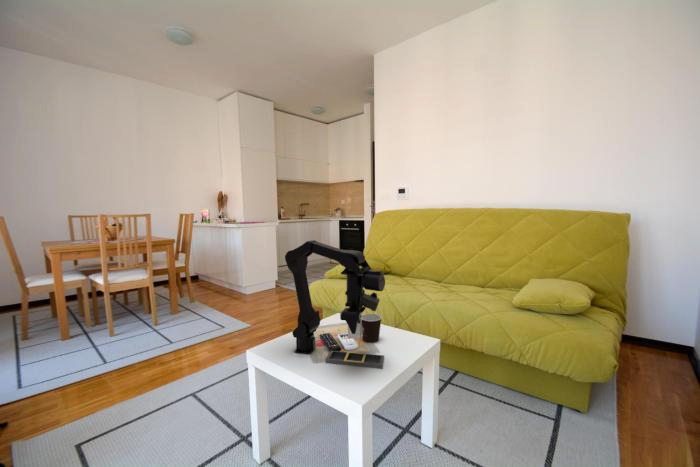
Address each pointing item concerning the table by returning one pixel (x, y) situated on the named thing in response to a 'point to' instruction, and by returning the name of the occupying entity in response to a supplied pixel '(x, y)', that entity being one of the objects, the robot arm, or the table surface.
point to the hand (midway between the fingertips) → (354, 330)
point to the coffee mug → (371, 327)
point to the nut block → (358, 331)
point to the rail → (355, 359)
